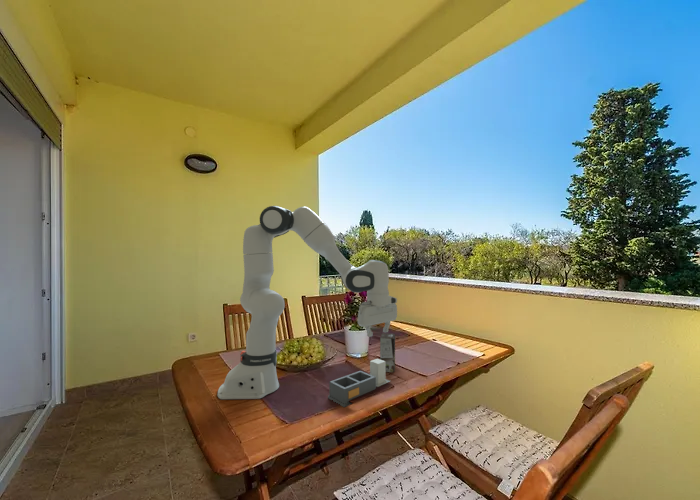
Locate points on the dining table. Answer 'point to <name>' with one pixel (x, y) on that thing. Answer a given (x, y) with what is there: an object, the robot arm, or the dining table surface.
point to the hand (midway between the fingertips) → (378, 334)
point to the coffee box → (388, 350)
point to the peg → (378, 370)
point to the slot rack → (352, 387)
